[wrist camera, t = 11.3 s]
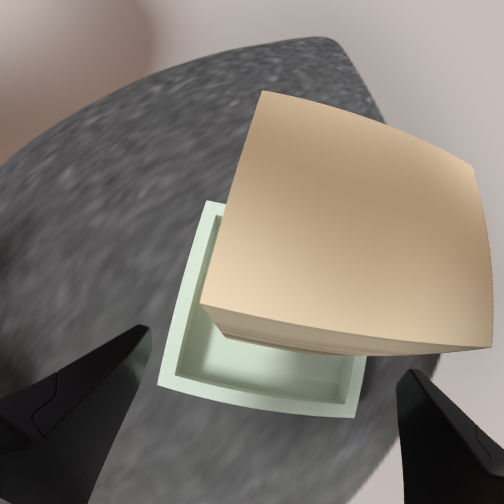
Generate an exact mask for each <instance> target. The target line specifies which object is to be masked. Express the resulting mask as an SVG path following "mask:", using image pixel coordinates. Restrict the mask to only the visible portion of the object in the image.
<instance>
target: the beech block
mask: <svg viewBox="0 0 504 504" xmlns="http://www.w3.org/2000/svg"><path fill="white" fill-rule="evenodd" d="M492 281H493V280H492V267H491V256H490V248H489V241H488V233H487V228H486V221H485V216H484V211H483V207H482V202H481V197H480V193H479V189H478V185H477V181H476V177H475V174H474V171H473V167H472V166H471V165H469V164H468V163H466V162H464V161H462V160H460V159H459V158H457V157H455V156H453V155H451V154H449V153H447V152H445V151H443V150H441V149H439V148H437V147H435V146H433V145H431V144H429V143H427V142H425V141H423V140H421V139H418V138H416V137H414V136H412V135H409V134H407V133H404V132H402V131H400V130H397V129H395V128H392V127H390V126H387V125H385V124H382V123H380V122H377V121H374V120H371V119H369V118H366V117H363V116H360V115H357V114H354V113H351V112H348V111H345V110H341V109H338V108H335V107H331V106H328V105H324V104H321V103H317V102H313V101H309V100H305V99H301V98H297V97H293V96H288V95H283V94H279V93H274V92H269V91H263V90H262V93H261V96H260V99H259V102H258V105H257V108H256V111H255V114H254V117H253V120H252V123H251V126H250V129H249V132H248V135H247V138H246V141H245V145H244V148H243V151H242V154H241V157H240V160H239V164H238V167H237V170H236V173H235V177H234V180H233V183H232V187H231V190H230V193H229V197H228V200H227V204H226V207H225V210H224V214H223V217H222V221H221V224H220V228H219V231H218V235H217V239H216V242H215V246H214V250H213V253H212V257H211V261H210V264H209V268H208V272H207V276H206V279H205V283H204V287H203V291H202V295H201V299H200V304H201V306H202V307H203V309H204V310H205V311H206V313H207V314H208V315H209V317H210V318H211V319H212V321H213V322H214V323H215V325H216V326H217V327H218V329H219V330H220V331H221V333H222V334H223V335H224V337H225V338H227V339H232V340H236V341H241V342H245V343H250V344H255V345H260V346H265V347H270V348H276V349H281V350H287V351H292V352H298V353H305V354H315V355H339V356H398V355H421V354H436V353H448V352H459V351H468V350H476V349H483V348H490V347H492V338H493V282H492Z"/></svg>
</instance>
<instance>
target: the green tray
mask: <svg viewBox="0 0 504 504" xmlns="http://www.w3.org/2000/svg"><path fill="white" fill-rule="evenodd" d="M225 207H226V204H221V203H216V202H211V201H206V203H205V207H204V210H203V213H202V216H201V219H200V222H199V226H198V229H197V232H196V235H195V239H194V242H193V245H192V249H191V252H190V256H189V259H188V262H187V266H186V270H185V273H184V277H183V280H182V284H181V288H180V291H179V295H178V299H177V303H176V307H175V310H174V314H173V318H172V322H171V326H170V330H169V335H168V339H167V343H166V347H165V352H164V356H163V361H162V365H161V370H160V374H159V379H158V384H157V385H160V386H163V387H166V388H169V389H173V390H176V391H180V392H183V393H187V394H191V395H195V396H199V397H203V398H207V399H211V400H215V401H220V402H224V403H229V404H234V405H239V406H244V407H250V408H256V409H262V410H268V411H275V412H283V413H291V414H300V415H310V416H323V417H341V418H354V417H355V413H356V409H357V405H358V400H359V396H360V391H361V386H362V381H363V375H364V370H365V364H366V358H367V356H339V355H315V354H305V353H298V352H292V351H287V350H281V349H276V348H270V347H265V346H260V345H255V344H250V343H245V342H241V341H236V340H232V339H227V338H225V337H224V335H223V334H222V333H221V331H220V330H219V329H218V327H217V326H216V325H215V323H214V322H213V321H212V319H211V318H210V317H209V315H208V314H207V313H206V311H205V310H204V309H203V307H202V306H201V304H200V299H201V295H202V291H203V287H204V283H205V279H206V276H207V272H208V268H209V264H210V261H211V257H212V253H213V250H214V246H215V242H216V239H217V235H218V231H219V228H220V224H221V221H222V217H223V214H224V210H225Z"/></svg>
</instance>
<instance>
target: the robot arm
mask: <svg viewBox="0 0 504 504" xmlns="http://www.w3.org/2000/svg"><path fill="white" fill-rule="evenodd" d="M151 349H152V336H151V328H150V327H148V326H145V325H141V324H138V325H136V326H134V327H132V328H131V329H129V330H127V331H126V332H124V333H122V334H120V335H119V336H117V337H115V338H114V339H112V340H110V341H108V342H107V343H105V344H103V345H102V346H100V347H98V348H96V349H95V350H93V351H91V352H90V353H88V354H86V355H84V356H83V357H81V358H79V359H77V360H76V361H74V362H72V363H71V364H69V365H67V366H65V367H64V368H62V369H60V370H58V372H55V373H53V374H51V375H50V376H48V377H46V378H44V379H42V380H41V381H39V382H37V383H35V384H33V385H31V386H28V387H26V388H24V389H22V390H19V391H17V392H15V393H12V394H10V395H8V396H5V397H3V398H0V504H87V503H88V501H89V498H90V496H91V494H92V491H93V489H94V486H95V483H96V481H97V479H98V476H99V474H100V472H101V469H102V467H103V465H104V462H105V460H106V458H107V455H108V453H109V451H110V449H111V446H112V444H113V442H114V440H115V437H116V435H117V433H118V431H119V429H120V426H121V424H122V422H123V420H124V418H125V416H126V414H127V411H128V409H129V407H130V405H131V403H132V401H133V399H134V397H135V395H136V392H137V390H138V387H139V385H140V382H141V379H142V376H143V373H144V370H145V367H146V364H147V361H148V358H149V356H150V353H151ZM396 395H397V414H398V428H399V436H400V445H401V455H402V467H403V481H404V504H504V449H503V448H502V447H501V446H499V445H498V444H497V443H496V442H495V441H493V440H492V439H491V438H490V437H489V436H488V435H487V434H486V433H485V432H484V431H482V430H481V429H480V428H479V427H478V426H477V425H476V424H475V423H474V422H473V421H472V420H471V419H470V418H469V417H468V416H467V415H466V414H465V413H464V412H463V411H462V410H461V409H460V408H459V407H458V406H457V405H456V404H454V403H453V402H452V401H451V400H450V399H449V398H448V397H447V396H446V395H445V394H444V393H443V392H442V391H441V390H440V389H439V388H438V387H437V386H435V385H434V384H433V383H432V382H431V381H430V380H429V379H428V378H427V377H426V376H425V375H424V374H423V373H422V372H420V371H419V370H418V369H409V370H407V371H406V373H405V374H404V375H403V377H402V378H401V379H400V381H399V382H398V384H397V387H396Z"/></svg>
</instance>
